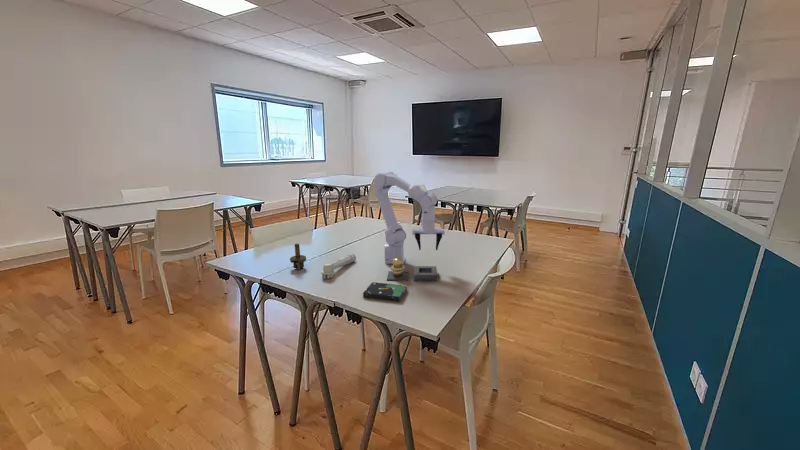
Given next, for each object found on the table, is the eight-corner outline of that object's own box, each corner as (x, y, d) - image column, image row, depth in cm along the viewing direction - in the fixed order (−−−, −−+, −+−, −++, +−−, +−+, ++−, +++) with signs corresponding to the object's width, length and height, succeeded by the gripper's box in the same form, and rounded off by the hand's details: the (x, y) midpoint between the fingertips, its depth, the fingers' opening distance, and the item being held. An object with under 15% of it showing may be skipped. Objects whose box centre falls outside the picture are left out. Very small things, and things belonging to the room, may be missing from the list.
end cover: (390, 277, 140) (389, 261, 138) (392, 272, 146) (391, 256, 144) (404, 278, 140) (403, 261, 138) (405, 272, 145) (405, 256, 143)
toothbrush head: (357, 254, 162) (329, 264, 138) (356, 267, 162) (328, 279, 139) (348, 252, 164) (318, 263, 140) (347, 265, 164) (318, 278, 141)
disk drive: (362, 299, 123) (400, 303, 120) (362, 292, 123) (400, 296, 119) (372, 288, 133) (407, 291, 129) (371, 281, 132) (407, 284, 129)
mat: (386, 280, 139) (386, 279, 139) (388, 272, 147) (388, 271, 147) (407, 280, 138) (407, 279, 138) (408, 272, 147) (408, 271, 147)
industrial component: (302, 271, 150) (299, 247, 147) (287, 270, 151) (285, 246, 148) (311, 264, 159) (309, 241, 156) (297, 263, 160) (295, 240, 157)
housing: (413, 281, 138) (413, 274, 137) (414, 272, 147) (414, 266, 146) (437, 281, 137) (437, 274, 136) (436, 272, 147) (436, 266, 146)
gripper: (412, 222, 142) (412, 252, 146) (445, 222, 141) (444, 252, 145) (412, 219, 149) (412, 247, 152) (444, 219, 148) (443, 247, 151)
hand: (428, 249), depth 149 cm, fingers open, 7 cm apart
